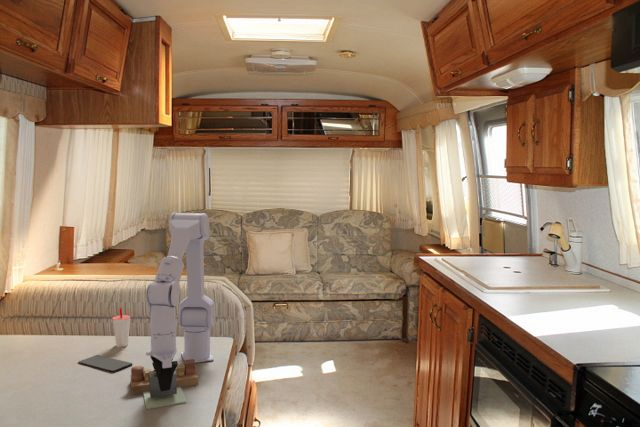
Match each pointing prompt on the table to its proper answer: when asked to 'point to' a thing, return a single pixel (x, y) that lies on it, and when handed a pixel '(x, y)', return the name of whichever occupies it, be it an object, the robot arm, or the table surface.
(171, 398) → the mat
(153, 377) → the grey block
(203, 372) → the table surface
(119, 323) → the cup
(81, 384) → the table surface
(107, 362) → the smartphone
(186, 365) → the block sculpture plaque
